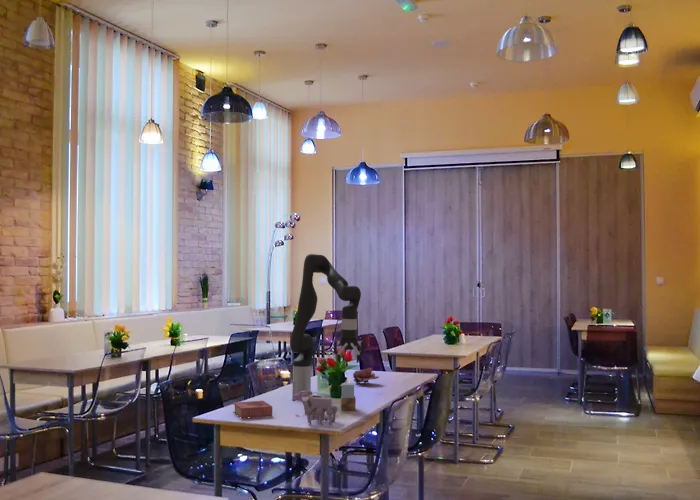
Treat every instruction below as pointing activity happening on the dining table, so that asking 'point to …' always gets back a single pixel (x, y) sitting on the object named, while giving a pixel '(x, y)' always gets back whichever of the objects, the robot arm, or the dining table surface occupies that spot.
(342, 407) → the brown wooden cube
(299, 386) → the robot arm
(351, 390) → the grey cube
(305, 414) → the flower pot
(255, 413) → the book
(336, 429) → the dining table surface
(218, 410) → the dining table surface
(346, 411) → the build board
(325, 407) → the toy sheep
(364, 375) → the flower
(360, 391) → the dining table surface
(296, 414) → the dining table surface
